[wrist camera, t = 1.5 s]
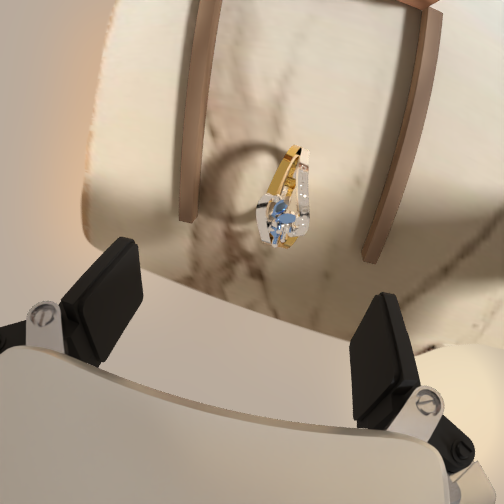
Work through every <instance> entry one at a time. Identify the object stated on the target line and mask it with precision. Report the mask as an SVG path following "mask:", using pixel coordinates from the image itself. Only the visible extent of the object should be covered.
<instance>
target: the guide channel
mask: <svg viewBox="0 0 504 504" xmlns="http://www.w3.org/2000/svg"><path fill="white" fill-rule="evenodd" d="M397 1H399V2H402V3H405V4H407V5H410V6H412V7H415V8H417V9H420V10H422V16H421V24H420V32H419V40H418V46H417V53H416V59H415V65H414V70H413V76H412V81H411V86H410V91H409V95H408V100H407V105H406V109H405V113H404V117H403V122H402V126H401V130H400V134H399V137H398V141H397V145H396V149H395V152H394V156H393V159H392V163H391V166H390V169H389V173H388V176H387V179H386V183H385V186H384V189H383V192H382V195H381V198H380V201H379V204H378V207H377V210H376V213H375V216H374V219H373V222H372V224H371V227H370V230H369V233H368V236H367V238H366V241H365V244H364V246H363V249H362V251H361V253H362V257H363V261H364V262H368V263H372V264H376V263H377V261H378V258H379V256H380V254H381V251H382V249H383V246H384V244H385V241H386V239H387V236H388V234H389V231H390V229H391V226H392V224H393V221H394V218H395V216H396V213H397V210H398V207H399V205H400V202H401V199H402V196H403V193H404V190H405V187H406V184H407V181H408V178H409V175H410V172H411V168H412V165H413V162H414V159H415V155H416V152H417V148H418V145H419V141H420V137H421V134H422V130H423V126H424V122H425V118H426V114H427V109H428V105H429V101H430V96H431V91H432V86H433V81H434V76H435V70H436V64H437V58H438V52H439V44H440V37H441V28H442V18H443V13H442V12H440V11H437V10H435V9H433V8H431V7H429V6H430V5H432V4H434V3H436V2H437V1H439V0H397ZM221 5H222V0H200V3H199V8H198V14H197V20H196V26H195V32H194V39H193V46H192V53H191V60H190V68H189V77H188V85H187V95H186V105H185V115H184V127H183V141H182V156H181V174H180V199H179V221H183V222H188V223H192V222H193V221H194V220H195V219H196V217H197V216H198V201H199V186H200V173H201V160H202V149H203V138H204V128H205V118H206V109H207V100H208V92H209V84H210V76H211V68H212V61H213V54H214V47H215V41H216V34H217V28H218V22H219V16H220V10H221Z"/></svg>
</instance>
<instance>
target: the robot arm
mask: <svg viewBox="0 0 504 504" xmlns="http://www.w3.org/2000/svg"><path fill="white" fill-rule="evenodd" d="M142 300H143V288H142V281H141V271H140V262H139V251H138V245H137V244H135V241H134V240H133V239H129V238H125V237H119V238H118V239H117V240H116V241H115V242H114V243H113V244H112V245H111V246H110V247H109V248H108V249H107V250H106V251H105V252H104V253H103V254H102V255H101V256H100V257H99V258H98V259H97V260H96V261H95V262H94V263H93V264H92V265H91V267H90V268H89V269H88V270H87V271H86V272H85V273H84V274H83V275H82V276H81V277H80V279H79V280H78V281H77V282H76V283H75V284H74V285H73V287H71V289H70V290H69V291H68V292H67V293H66V294H65V295H64V297H63V298H62V299H61V302H60V304H59V305H57V304H56V303H54V302H52V301H43V302H40V303H37V304H36V305H34V306H33V307H32V308H31V309H30V310H29V312H28V314H27V319H26V320H25V321H21V322H18V323H14V324H10V325H7V326H3V327H0V504H495V501H496V493H495V490H494V488H493V486H492V485H491V483H490V481H489V479H488V478H487V476H486V474H485V473H484V471H483V469H482V467H481V465H480V464H479V462H478V461H476V462H474V461H473V459H474V457H475V448H474V445H473V443H472V441H471V440H470V439H469V438H468V437H467V436H466V435H465V434H464V433H463V432H462V431H461V430H460V429H458V428H457V427H456V426H455V425H454V424H453V423H452V422H451V421H450V420H448V419H447V418H446V417H445V416H444V415H443V412H444V401H443V398H442V397H441V395H440V393H439V392H437V390H436V389H434V388H432V387H429V386H421V385H420V379H419V375H418V371H417V366H416V362H415V358H414V354H413V350H412V346H411V343H410V339H409V335H408V333H407V331H406V327H405V324H404V321H403V317H402V314H401V311H400V307H399V304H398V301H397V298H396V296H395V295H394V294H390V293H385V292H381V293H380V294H379V295H375V296H374V298H373V300H372V302H371V304H370V306H369V308H368V310H367V312H366V314H365V316H364V317H363V319H362V321H361V323H360V325H359V327H358V329H357V330H356V332H355V334H354V336H353V338H352V339H351V342H350V346H349V351H350V364H351V380H352V399H353V418H354V420H357V428H344V427H334V426H325V425H315V424H306V423H299V422H292V421H285V420H278V419H272V418H267V417H261V416H256V415H251V414H245V413H241V412H236V411H232V410H227V409H223V408H219V407H215V406H211V405H207V404H203V403H199V402H195V401H192V400H188V399H185V398H181V397H178V396H174V395H171V394H168V393H165V392H162V391H159V390H156V389H153V388H150V387H147V386H144V385H141V384H138V383H135V382H133V381H130V380H127V379H124V378H122V377H119V376H117V375H114V374H112V373H109V372H107V371H104V370H101V369H99V368H98V367H99V365H100V364H101V362H105V361H106V360H107V358H108V356H109V355H110V353H111V351H112V350H113V348H114V346H115V345H116V343H117V341H118V339H119V338H120V336H121V335H122V333H123V331H124V330H125V328H126V327H127V325H128V323H129V321H130V320H131V319H132V317H133V315H134V314H135V312H136V311H137V309H138V307H139V306H140V304H141V302H142ZM87 363H88V364H87ZM89 364H90V365H89ZM92 365H93V366H92ZM94 366H95V367H94ZM358 428H368V429H358Z"/></svg>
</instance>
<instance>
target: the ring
mask: <svg viewBox="0 0 504 504" xmlns="http://www.w3.org/2000/svg"><path fill="white" fill-rule="evenodd" d="M309 154H310V151H309V150H307V149H305V148H303V147H299V146H297V145H293V146H292V147H291V148H290V149H289V150H288V152H287V153H286V155H285V156H284V158H283V160H282V161H281V163H280V165H279V167H278V169H277V171H276V173H275V175H274V177H273V179H272V182H271V184H270V186H269V188H268V191H267V193H266V194H265V195H263V196H262V197H261V199H260V200H259V202H258V205H257V209H256V220H257V225H258V229H259V233H260V236H261V240H262V242H263V243H264V244H267V245H270V246H273V247H275V248H276V247H277V246H278V247H282V248H285V249H288V248H289V247H291V246H292V245H293V244H294V242H295V241H296V240H297V238H298V237H299V236H303V235H305V234H306V232H307V230H308V227H309V220H310V216H309V198H308V168H309ZM289 169H290V170H289ZM288 171H289V173H288ZM287 173H288V174H287ZM286 175H287V177H286ZM285 178H286V180H285ZM284 180H285V182H284ZM283 183H284V187H283V190H282V193H281V189H282V186H283ZM295 186H296V200H297V212H296V213H295V212H293V211H287V209H288V205H289V204H290V202H291V194H292V191H293V189H294V188H295ZM280 193H281V196H280ZM272 202H275V203H276V204H275V206H274V208H273V210H272V211H271V213H270V214H269V206H270V204H271V203H272ZM294 222H295V226H294Z"/></svg>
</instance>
